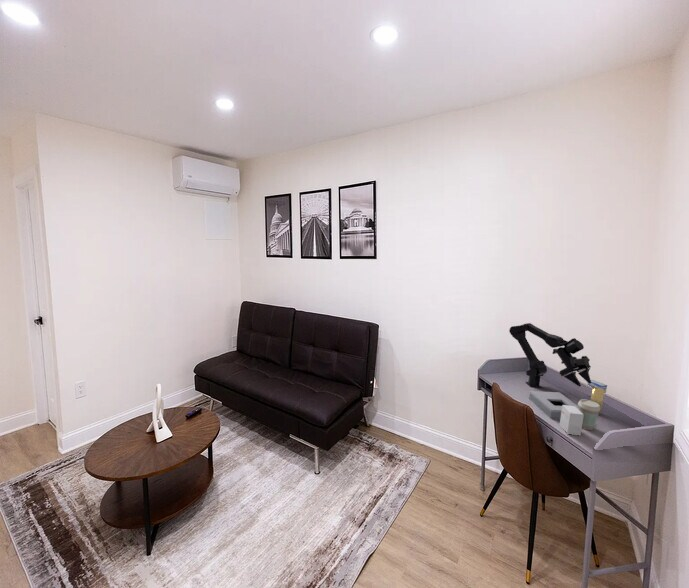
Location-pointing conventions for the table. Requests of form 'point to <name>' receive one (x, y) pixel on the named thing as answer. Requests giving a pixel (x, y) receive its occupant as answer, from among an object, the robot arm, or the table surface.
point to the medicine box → (597, 385)
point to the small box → (571, 420)
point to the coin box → (547, 407)
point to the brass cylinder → (597, 396)
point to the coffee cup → (589, 413)
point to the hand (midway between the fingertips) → (585, 384)
